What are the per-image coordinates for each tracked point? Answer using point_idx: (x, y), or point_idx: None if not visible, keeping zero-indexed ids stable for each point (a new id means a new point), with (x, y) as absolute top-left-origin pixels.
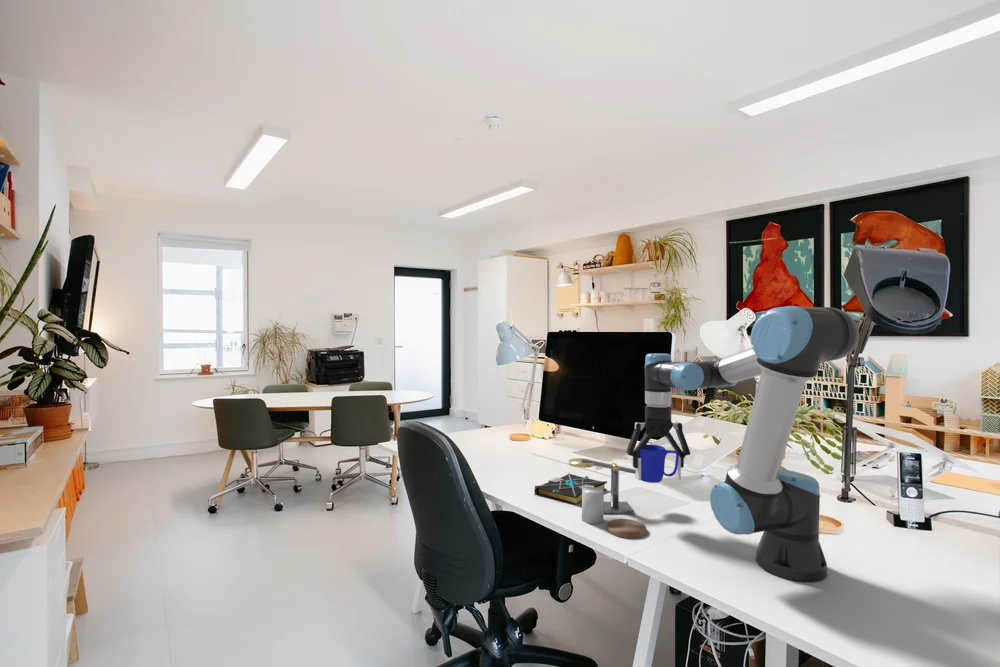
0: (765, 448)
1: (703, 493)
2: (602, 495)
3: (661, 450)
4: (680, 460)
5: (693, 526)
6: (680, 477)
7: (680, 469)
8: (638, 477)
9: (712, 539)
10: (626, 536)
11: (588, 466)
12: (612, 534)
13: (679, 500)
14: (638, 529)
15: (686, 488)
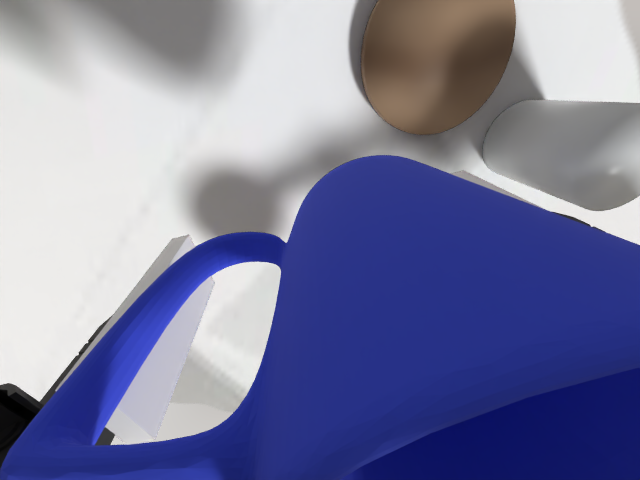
0: None
1: (175, 388)
2: (583, 134)
3: (372, 421)
4: (83, 355)
5: (187, 150)
6: (168, 247)
7: (138, 283)
8: (475, 176)
9: (101, 15)
10: None
11: None
12: None
13: (234, 338)
14: (399, 20)
15: (217, 403)
